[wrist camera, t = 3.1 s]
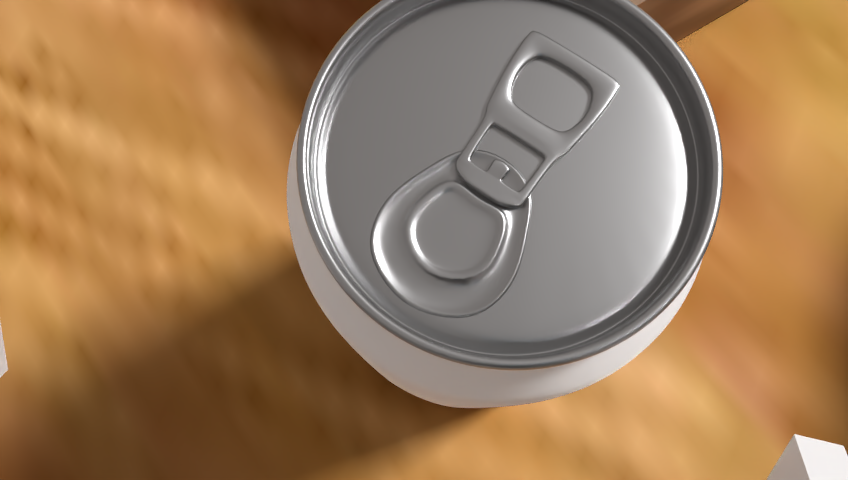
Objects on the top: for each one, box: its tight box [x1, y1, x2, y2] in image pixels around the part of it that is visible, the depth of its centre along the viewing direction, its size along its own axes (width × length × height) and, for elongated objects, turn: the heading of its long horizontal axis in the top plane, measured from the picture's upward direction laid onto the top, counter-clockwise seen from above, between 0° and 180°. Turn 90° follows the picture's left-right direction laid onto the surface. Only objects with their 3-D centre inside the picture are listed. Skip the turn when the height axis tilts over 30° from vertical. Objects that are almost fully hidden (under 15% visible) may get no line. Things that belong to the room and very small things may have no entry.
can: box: [287, 0, 723, 408], centre depth 16 cm, size 6×6×12 cm
